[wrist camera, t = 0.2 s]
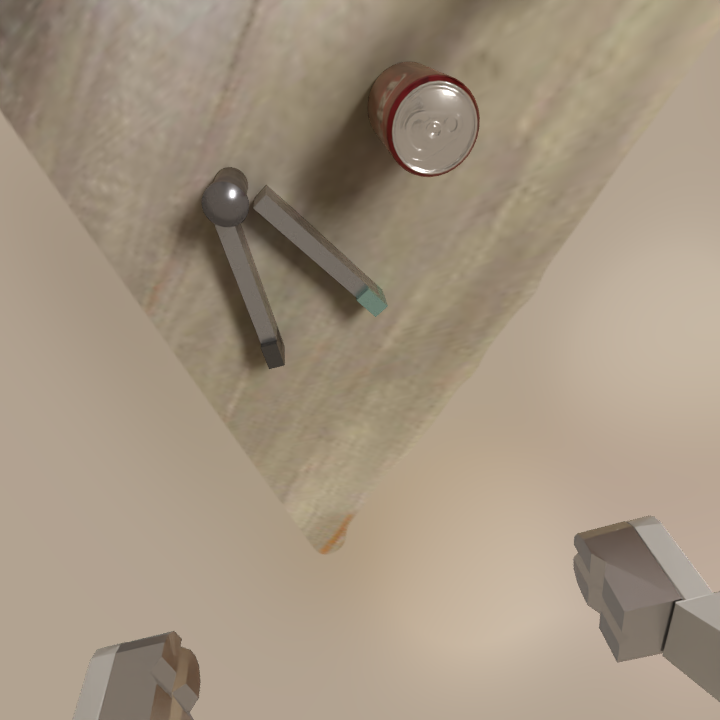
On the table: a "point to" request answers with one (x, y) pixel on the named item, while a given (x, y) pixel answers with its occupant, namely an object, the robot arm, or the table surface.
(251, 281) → the tongs base
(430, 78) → the soda can
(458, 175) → the table surface
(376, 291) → the bar
